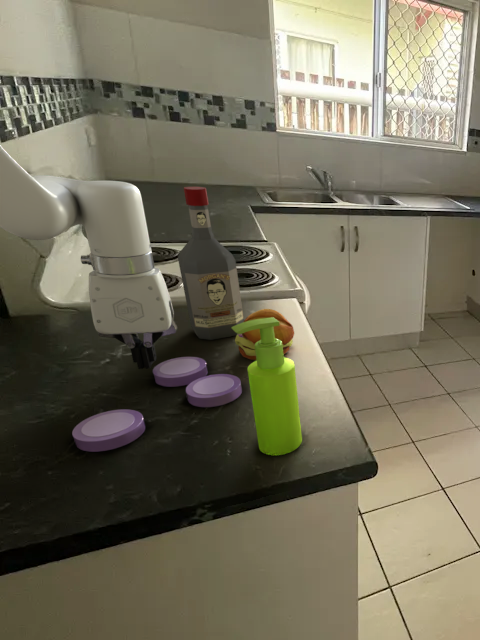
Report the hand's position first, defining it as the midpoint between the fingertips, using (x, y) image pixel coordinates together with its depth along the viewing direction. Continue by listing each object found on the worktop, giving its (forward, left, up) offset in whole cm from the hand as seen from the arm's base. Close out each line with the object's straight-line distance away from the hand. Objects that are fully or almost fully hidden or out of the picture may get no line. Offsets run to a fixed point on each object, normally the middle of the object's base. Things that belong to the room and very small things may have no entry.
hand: (146, 365), depth 82 cm
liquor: (+9, +20, -3) cm, 22 cm away
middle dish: (+11, -8, -3) cm, 14 cm away
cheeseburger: (+19, +7, -3) cm, 20 cm away
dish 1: (-1, -17, -3) cm, 17 cm away
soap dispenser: (+21, -25, -3) cm, 33 cm away
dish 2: (+5, 0, -3) cm, 6 cm away
